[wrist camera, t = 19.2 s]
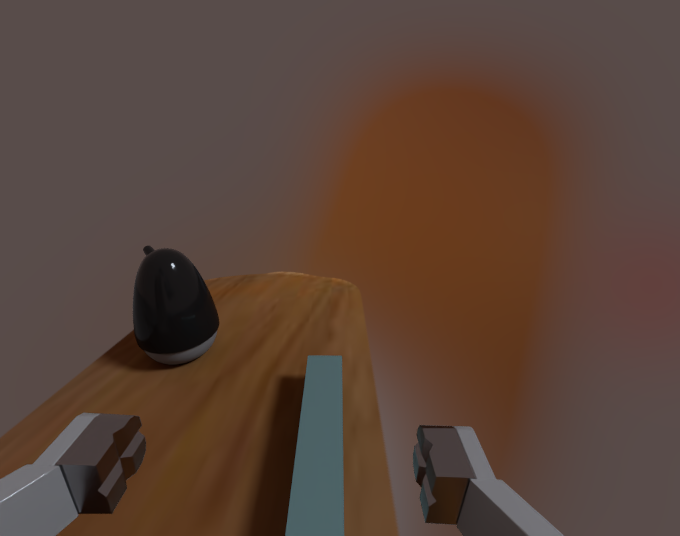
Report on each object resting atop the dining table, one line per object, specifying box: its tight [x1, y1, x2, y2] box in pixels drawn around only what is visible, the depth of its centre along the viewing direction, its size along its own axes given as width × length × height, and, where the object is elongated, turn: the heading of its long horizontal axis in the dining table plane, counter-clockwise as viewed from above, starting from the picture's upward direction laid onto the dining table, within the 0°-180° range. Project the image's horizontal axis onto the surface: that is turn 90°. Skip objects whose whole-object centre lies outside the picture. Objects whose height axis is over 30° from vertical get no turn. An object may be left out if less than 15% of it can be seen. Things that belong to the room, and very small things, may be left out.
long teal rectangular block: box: [285, 356, 344, 536], centre depth 32 cm, size 4×19×4 cm, turn 0°
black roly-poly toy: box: [133, 246, 219, 364], centre depth 44 cm, size 10×10×15 cm
